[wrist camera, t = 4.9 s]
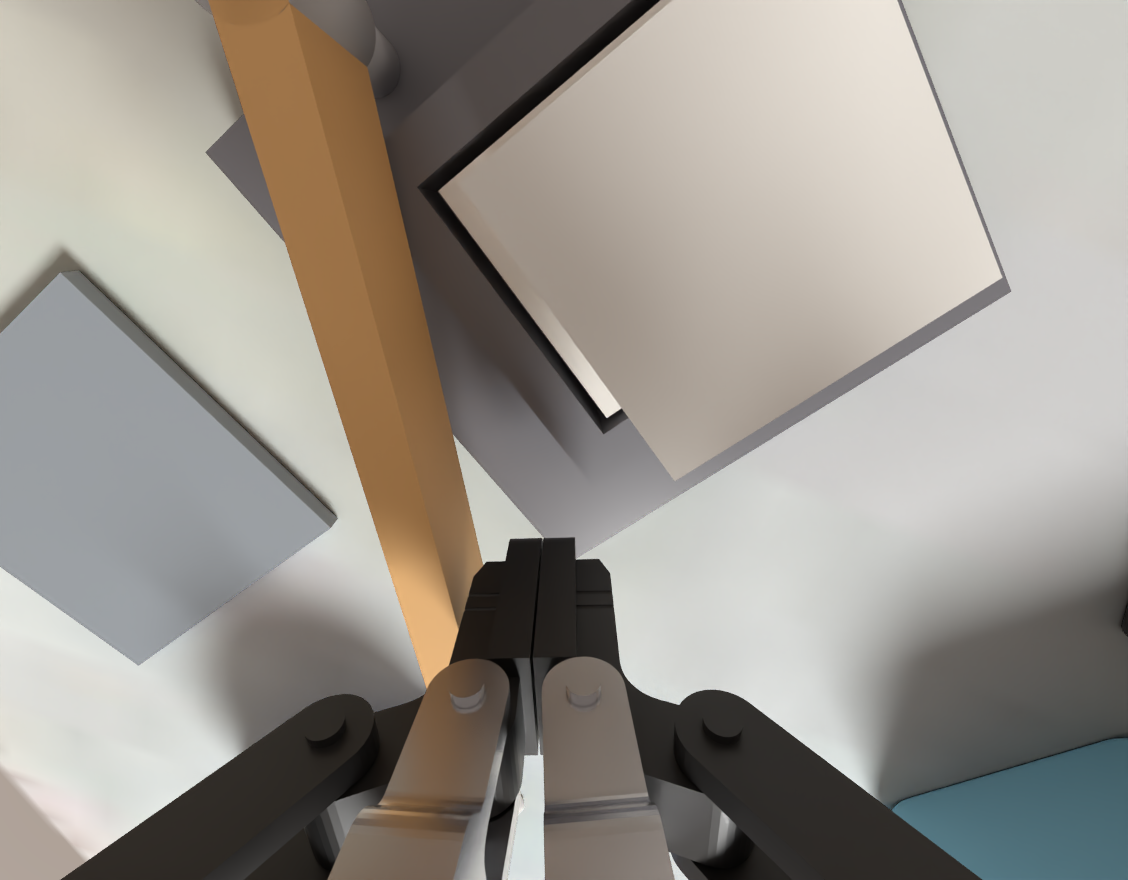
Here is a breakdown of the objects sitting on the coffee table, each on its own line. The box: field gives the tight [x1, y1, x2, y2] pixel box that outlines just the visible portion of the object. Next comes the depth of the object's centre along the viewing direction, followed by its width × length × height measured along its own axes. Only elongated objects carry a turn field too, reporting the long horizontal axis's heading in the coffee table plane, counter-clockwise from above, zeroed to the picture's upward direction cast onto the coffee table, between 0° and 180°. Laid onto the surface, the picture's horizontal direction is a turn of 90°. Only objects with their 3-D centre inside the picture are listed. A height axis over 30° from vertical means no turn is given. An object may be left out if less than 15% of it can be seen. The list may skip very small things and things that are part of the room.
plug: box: [439, 0, 1002, 481], centre depth 9 cm, size 6×6×8 cm
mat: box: [0, 271, 338, 665], centre depth 17 cm, size 10×10×1 cm
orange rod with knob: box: [196, 0, 483, 688], centre depth 10 cm, size 2×14×3 cm, turn 7°
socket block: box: [206, 0, 1011, 558], centre depth 13 cm, size 14×14×4 cm
